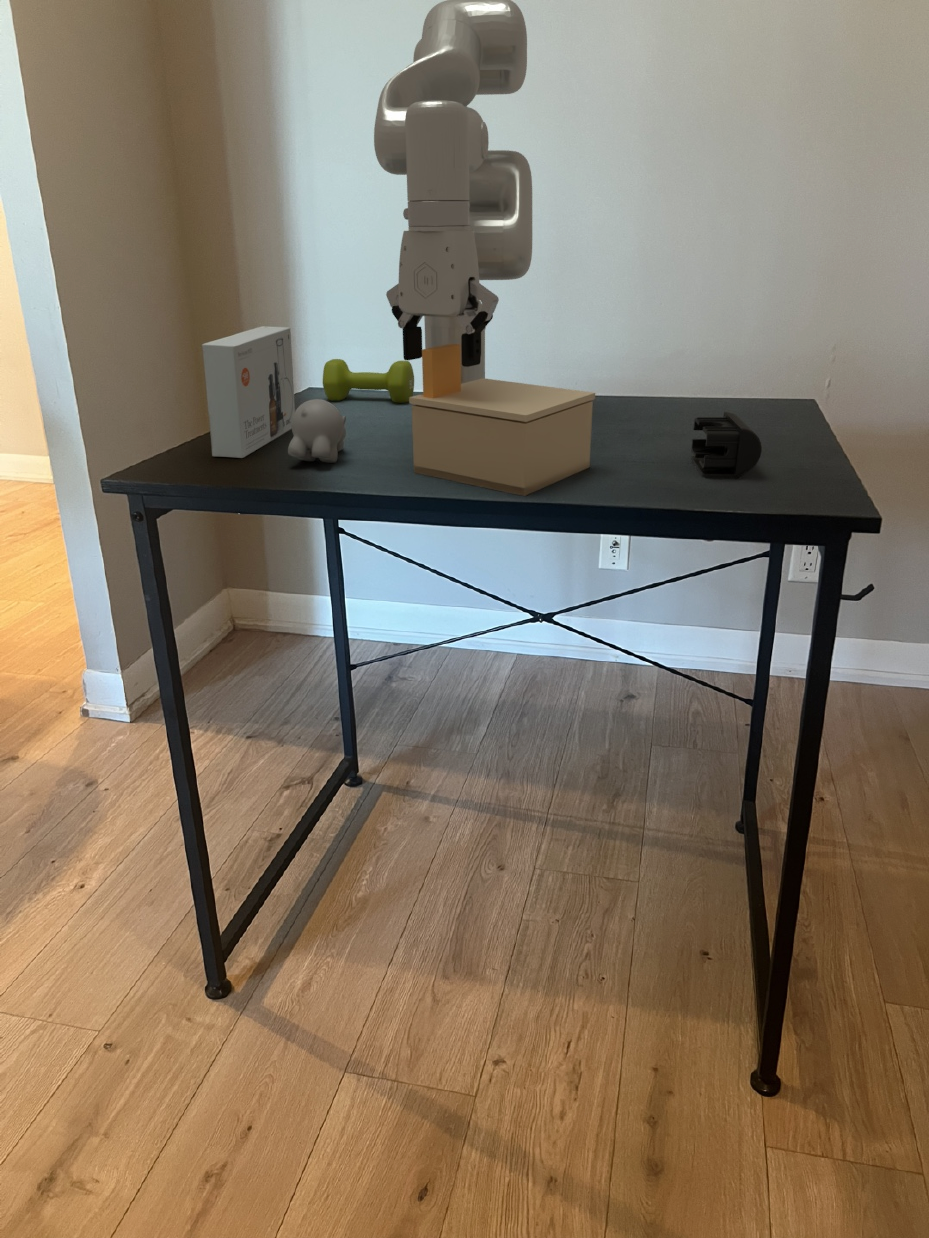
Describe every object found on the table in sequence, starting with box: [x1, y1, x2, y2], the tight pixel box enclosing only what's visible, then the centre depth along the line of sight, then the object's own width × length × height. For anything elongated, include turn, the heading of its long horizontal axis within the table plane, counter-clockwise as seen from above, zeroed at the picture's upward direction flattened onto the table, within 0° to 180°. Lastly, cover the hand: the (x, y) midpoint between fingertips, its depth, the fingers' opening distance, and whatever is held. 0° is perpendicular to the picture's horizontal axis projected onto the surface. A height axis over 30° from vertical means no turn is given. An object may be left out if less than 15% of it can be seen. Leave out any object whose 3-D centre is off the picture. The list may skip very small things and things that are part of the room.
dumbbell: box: [322, 358, 415, 404], centre depth 162 cm, size 16×8×7 cm, turn 78°
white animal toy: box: [287, 398, 347, 464], centre depth 126 cm, size 7×12×8 cm, turn 162°
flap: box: [408, 344, 596, 422], centre depth 115 cm, size 16×18×7 cm
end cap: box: [690, 411, 763, 479], centre depth 119 cm, size 10×7×7 cm
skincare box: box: [201, 325, 296, 459], centre depth 133 cm, size 21×5×16 cm, turn 168°
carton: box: [411, 400, 594, 497], centre depth 119 cm, size 16×18×9 cm
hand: (441, 362), depth 115 cm, fingers open, 9 cm apart
